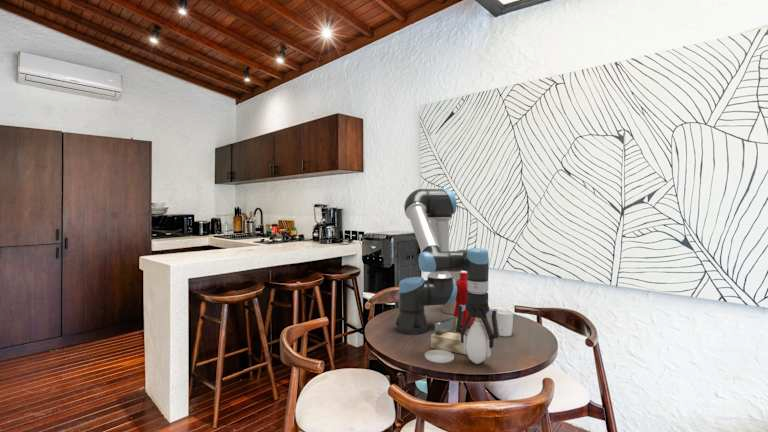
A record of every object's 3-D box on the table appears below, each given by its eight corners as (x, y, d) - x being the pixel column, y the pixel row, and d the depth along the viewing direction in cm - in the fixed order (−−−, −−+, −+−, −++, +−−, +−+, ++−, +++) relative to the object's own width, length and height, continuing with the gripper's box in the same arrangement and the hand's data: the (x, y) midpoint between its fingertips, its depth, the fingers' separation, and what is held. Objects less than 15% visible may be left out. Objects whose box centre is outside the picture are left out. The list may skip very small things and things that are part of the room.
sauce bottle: (464, 365, 132) (464, 315, 132) (467, 356, 140) (467, 309, 139) (486, 368, 130) (487, 318, 129) (488, 359, 137) (489, 311, 136)
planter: (456, 315, 192) (456, 271, 191) (438, 312, 197) (439, 270, 197) (463, 310, 200) (463, 268, 199) (446, 307, 206) (446, 267, 205)
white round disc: (420, 359, 138) (420, 357, 138) (430, 349, 148) (430, 347, 148) (448, 365, 133) (448, 363, 133) (457, 354, 142) (457, 352, 142)
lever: (439, 334, 149) (439, 324, 149) (432, 332, 151) (432, 322, 151) (460, 327, 158) (460, 317, 157) (453, 325, 160) (453, 315, 160)
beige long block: (431, 347, 149) (431, 329, 149) (436, 341, 155) (437, 324, 155) (481, 357, 140) (481, 337, 140) (485, 350, 146) (485, 331, 146)
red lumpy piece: (477, 322, 181) (477, 271, 180) (471, 329, 171) (471, 275, 170) (458, 319, 185) (459, 269, 184) (451, 325, 176) (452, 273, 175)
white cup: (514, 337, 160) (514, 314, 160) (495, 336, 162) (495, 313, 161) (511, 331, 168) (512, 309, 168) (493, 330, 169) (493, 308, 169)
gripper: (446, 290, 135) (446, 352, 136) (505, 297, 125) (504, 363, 126) (452, 286, 142) (452, 345, 143) (508, 292, 132) (508, 355, 133)
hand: (476, 353), depth 135 cm, fingers closed on sauce bottle, 8 cm apart
